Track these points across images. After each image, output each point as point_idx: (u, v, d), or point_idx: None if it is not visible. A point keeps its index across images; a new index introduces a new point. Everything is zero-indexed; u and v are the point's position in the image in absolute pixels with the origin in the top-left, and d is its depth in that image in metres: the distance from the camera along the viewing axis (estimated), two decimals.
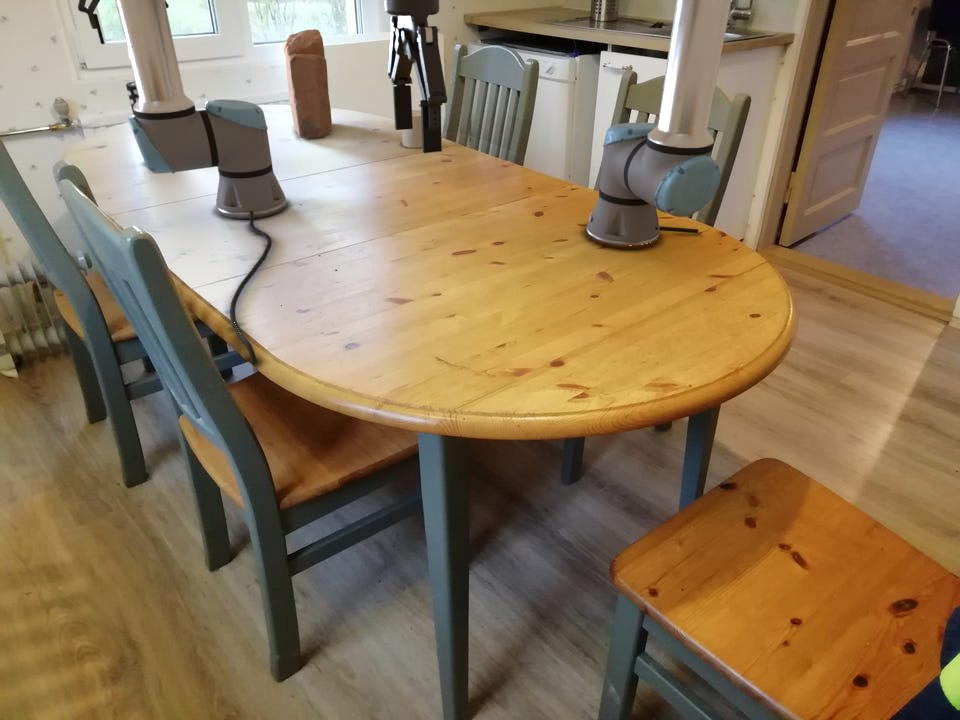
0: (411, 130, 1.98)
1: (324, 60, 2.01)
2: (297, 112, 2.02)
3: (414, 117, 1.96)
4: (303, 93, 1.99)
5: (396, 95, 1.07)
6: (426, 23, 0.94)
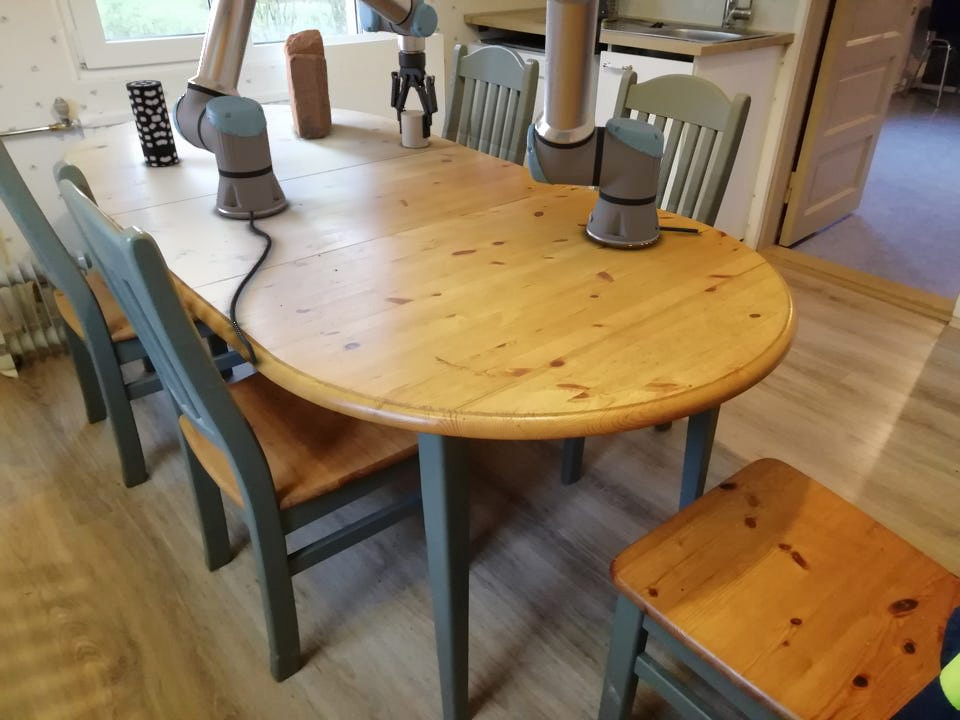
0: (411, 130, 1.98)
1: (324, 60, 2.01)
2: (297, 112, 2.02)
3: (414, 117, 1.96)
4: (303, 93, 1.99)
5: None
6: None
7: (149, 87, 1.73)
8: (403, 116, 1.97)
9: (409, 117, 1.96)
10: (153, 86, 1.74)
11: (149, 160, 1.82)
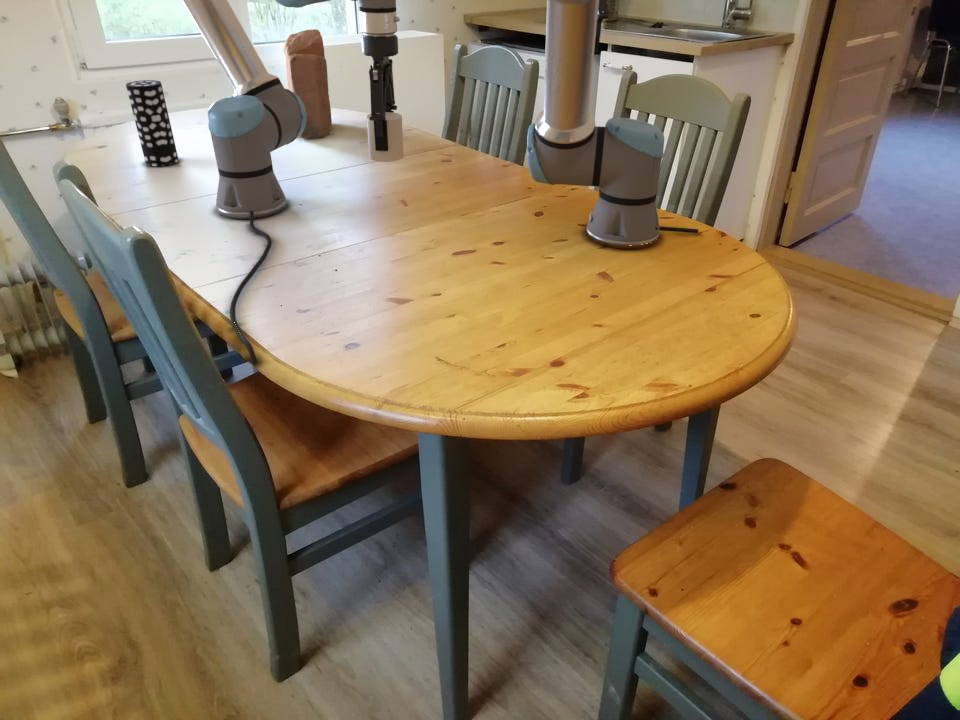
0: (368, 135, 1.53)
1: (324, 60, 2.01)
2: None
3: (368, 119, 1.50)
4: (303, 93, 1.99)
5: None
6: None
7: (149, 87, 1.73)
8: None
9: None
10: (153, 86, 1.74)
11: (149, 160, 1.82)
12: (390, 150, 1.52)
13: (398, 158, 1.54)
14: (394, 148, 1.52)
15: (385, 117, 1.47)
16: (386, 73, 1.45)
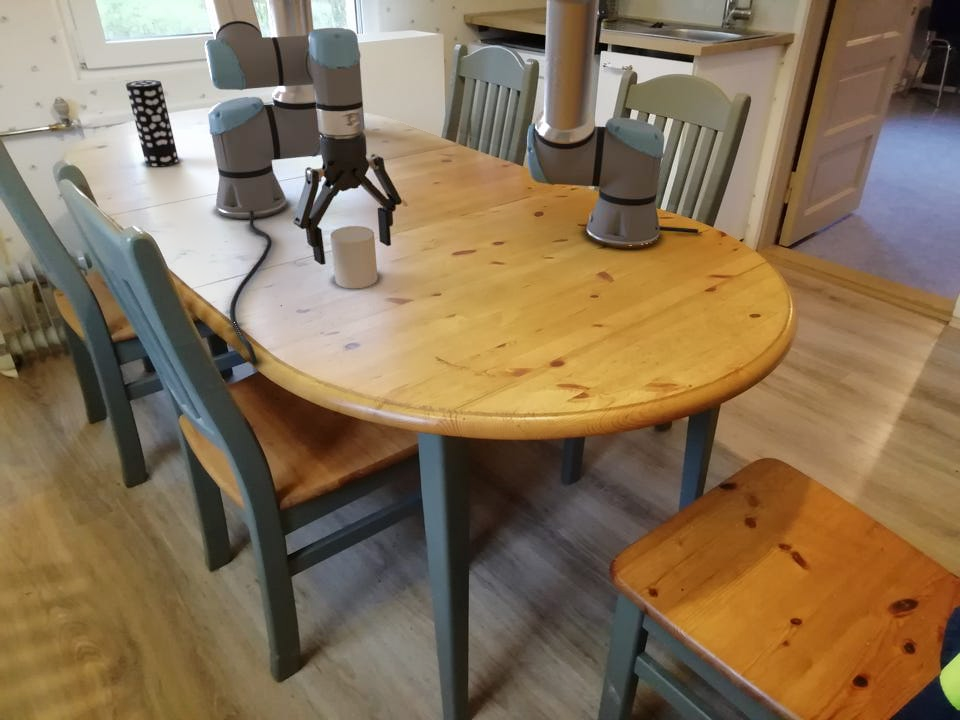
0: None
1: None
2: None
3: None
4: None
5: None
6: None
7: (149, 87, 1.73)
8: None
9: None
10: (153, 86, 1.74)
11: (149, 160, 1.82)
12: (343, 275, 1.23)
13: (354, 286, 1.24)
14: (348, 274, 1.23)
15: (314, 226, 1.16)
16: (339, 181, 1.15)
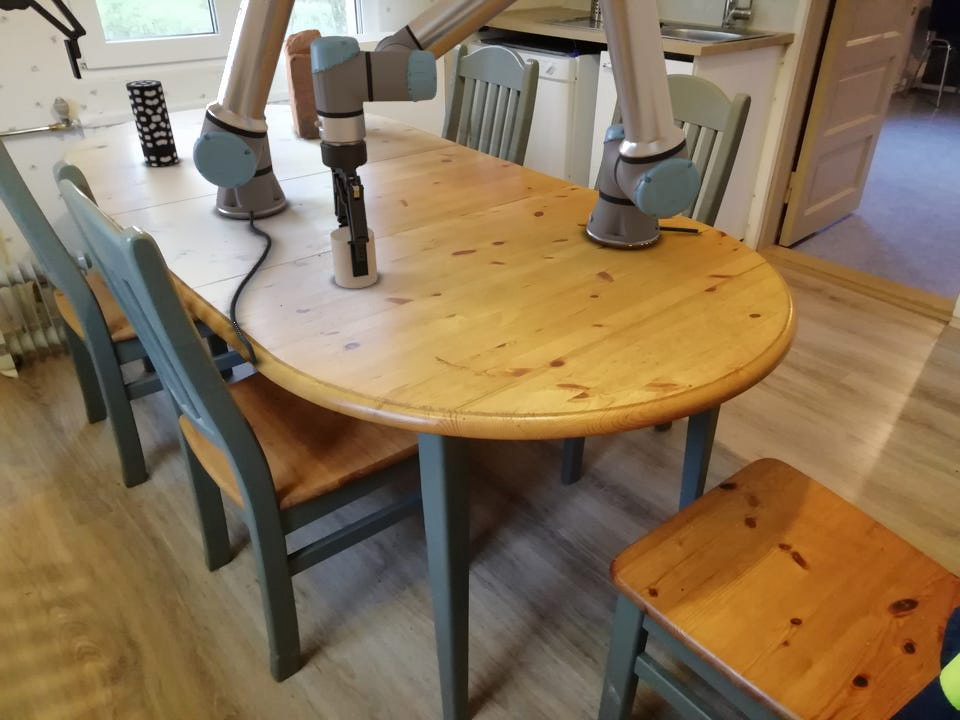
0: None
1: None
2: (297, 112, 2.02)
3: None
4: (303, 93, 1.99)
5: None
6: (355, 174, 1.14)
7: (149, 87, 1.73)
8: None
9: None
10: (153, 86, 1.74)
11: (149, 160, 1.82)
12: (343, 274, 1.23)
13: (354, 286, 1.24)
14: (348, 274, 1.23)
15: None
16: None
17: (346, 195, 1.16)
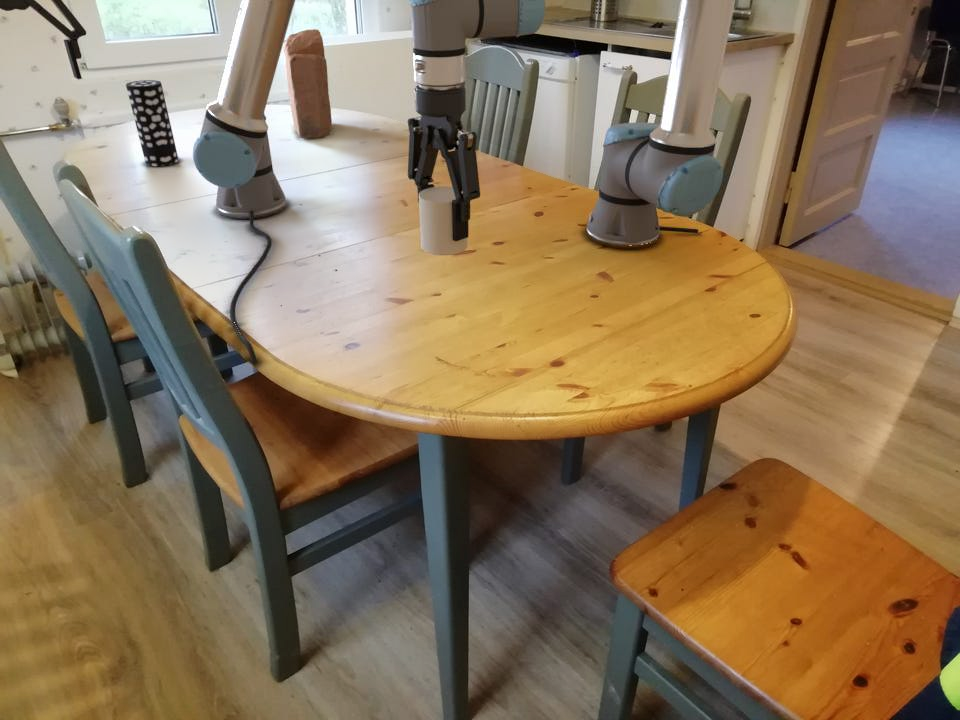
0: None
1: (324, 60, 2.01)
2: (297, 112, 2.02)
3: None
4: (303, 93, 1.99)
5: None
6: (461, 122, 1.02)
7: (149, 87, 1.73)
8: None
9: None
10: (153, 86, 1.74)
11: (149, 160, 1.82)
12: (440, 241, 1.10)
13: (452, 252, 1.12)
14: (446, 239, 1.10)
15: None
16: None
17: (447, 148, 1.04)
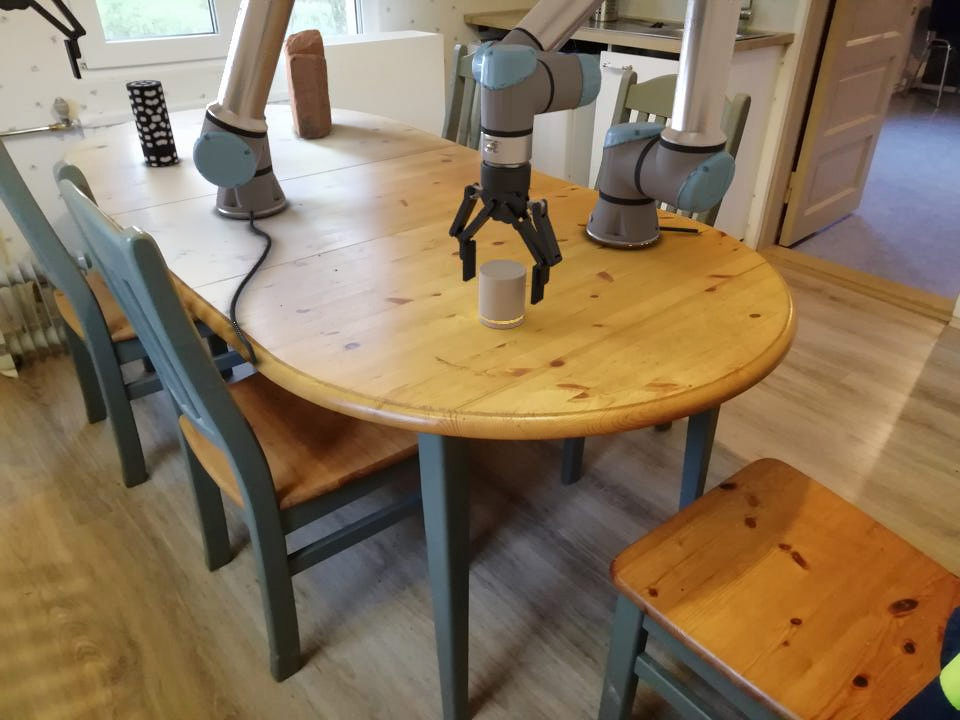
0: None
1: (324, 60, 2.01)
2: (297, 112, 2.02)
3: (480, 273, 1.10)
4: (303, 93, 1.99)
5: (467, 252, 1.13)
6: (528, 195, 1.03)
7: (149, 87, 1.73)
8: None
9: (479, 270, 1.12)
10: (153, 86, 1.74)
11: (149, 160, 1.82)
12: (505, 315, 1.11)
13: (514, 325, 1.13)
14: (510, 313, 1.11)
15: None
16: None
17: None
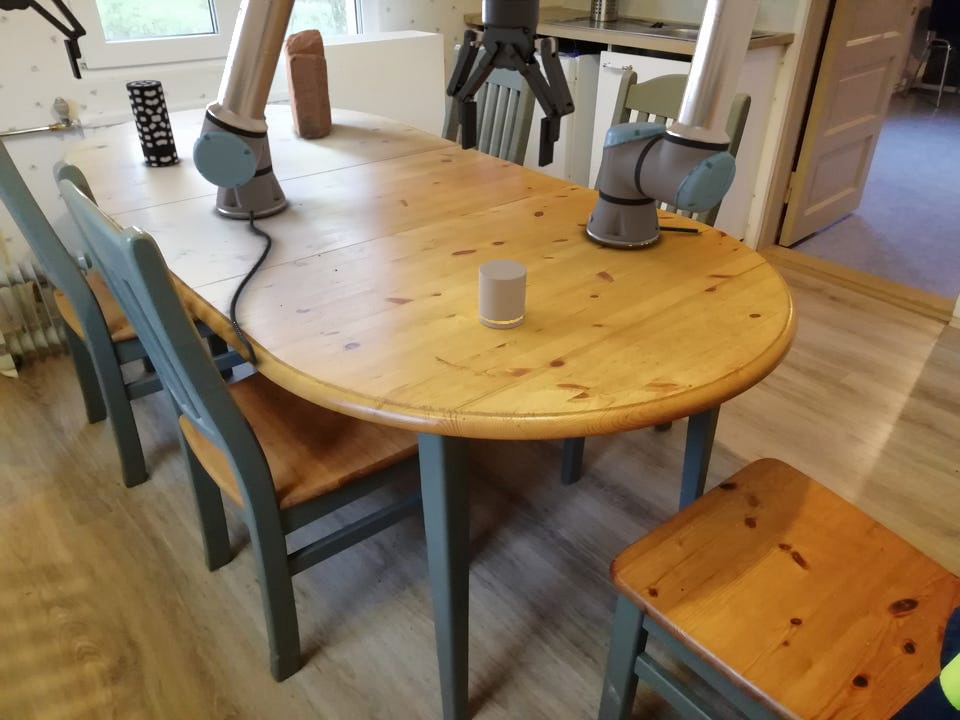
0: None
1: (324, 60, 2.01)
2: (297, 112, 2.02)
3: (480, 273, 1.10)
4: (303, 93, 1.99)
5: (466, 113, 1.01)
6: (536, 34, 0.91)
7: (149, 87, 1.73)
8: None
9: (479, 270, 1.12)
10: (153, 86, 1.74)
11: (149, 160, 1.82)
12: (505, 315, 1.11)
13: (514, 325, 1.13)
14: (510, 313, 1.11)
15: None
16: None
17: None
